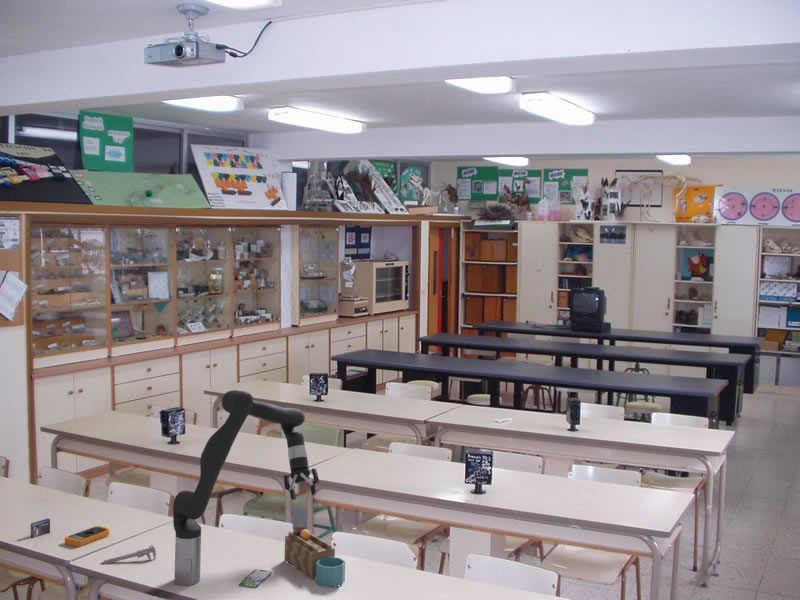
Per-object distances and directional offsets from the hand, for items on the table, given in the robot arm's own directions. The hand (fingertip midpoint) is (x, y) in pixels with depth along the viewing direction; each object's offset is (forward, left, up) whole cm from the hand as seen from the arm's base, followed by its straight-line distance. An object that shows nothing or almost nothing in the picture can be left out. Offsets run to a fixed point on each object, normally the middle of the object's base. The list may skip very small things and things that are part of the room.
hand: (303, 497), depth 326 cm
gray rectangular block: (-6, -1, -14) cm, 15 cm away
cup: (-24, -18, -24) cm, 38 cm away
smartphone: (-29, +10, -25) cm, 39 cm away
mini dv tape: (-6, +114, -24) cm, 116 cm away
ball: (-10, -4, -12) cm, 16 cm away
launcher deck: (-12, -6, -24) cm, 28 cm away
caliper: (-24, +64, -24) cm, 72 cm away
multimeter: (-6, +92, -24) cm, 95 cm away
